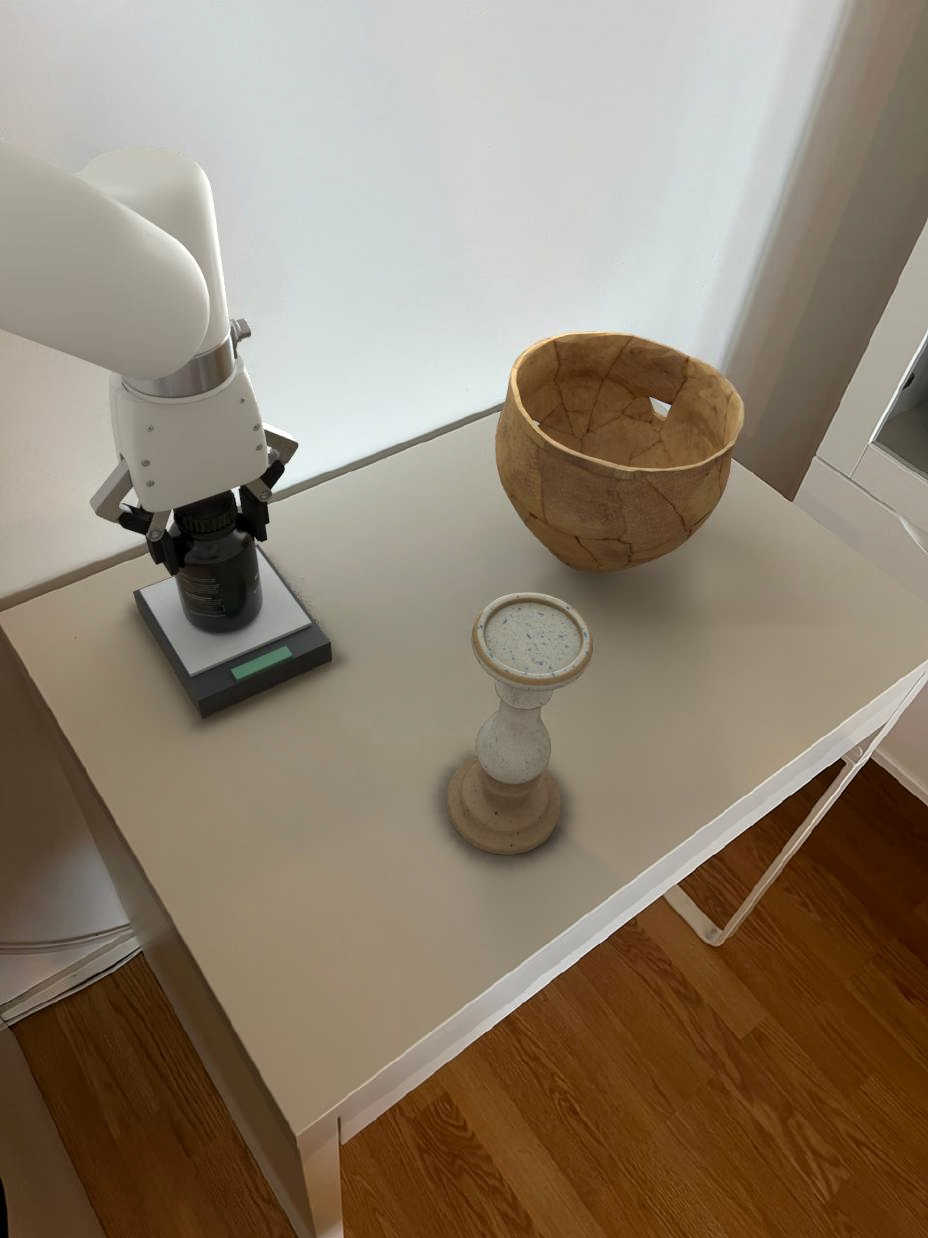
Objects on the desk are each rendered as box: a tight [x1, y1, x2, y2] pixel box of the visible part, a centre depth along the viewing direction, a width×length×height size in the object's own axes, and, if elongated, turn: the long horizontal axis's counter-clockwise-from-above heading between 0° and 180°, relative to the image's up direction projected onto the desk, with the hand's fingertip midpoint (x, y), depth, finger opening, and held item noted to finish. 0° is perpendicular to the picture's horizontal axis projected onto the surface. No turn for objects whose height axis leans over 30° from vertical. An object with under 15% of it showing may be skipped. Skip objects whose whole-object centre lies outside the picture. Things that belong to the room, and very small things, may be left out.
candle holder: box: [446, 591, 594, 855], centre depth 65 cm, size 9×9×20 cm
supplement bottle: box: [167, 489, 263, 633], centre depth 76 cm, size 7×7×12 cm
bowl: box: [494, 330, 745, 575], centre depth 83 cm, size 21×20×20 cm
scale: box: [132, 543, 333, 720], centre depth 81 cm, size 12×14×3 cm
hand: (212, 546), depth 75 cm, fingers closed on supplement bottle, 6 cm apart
